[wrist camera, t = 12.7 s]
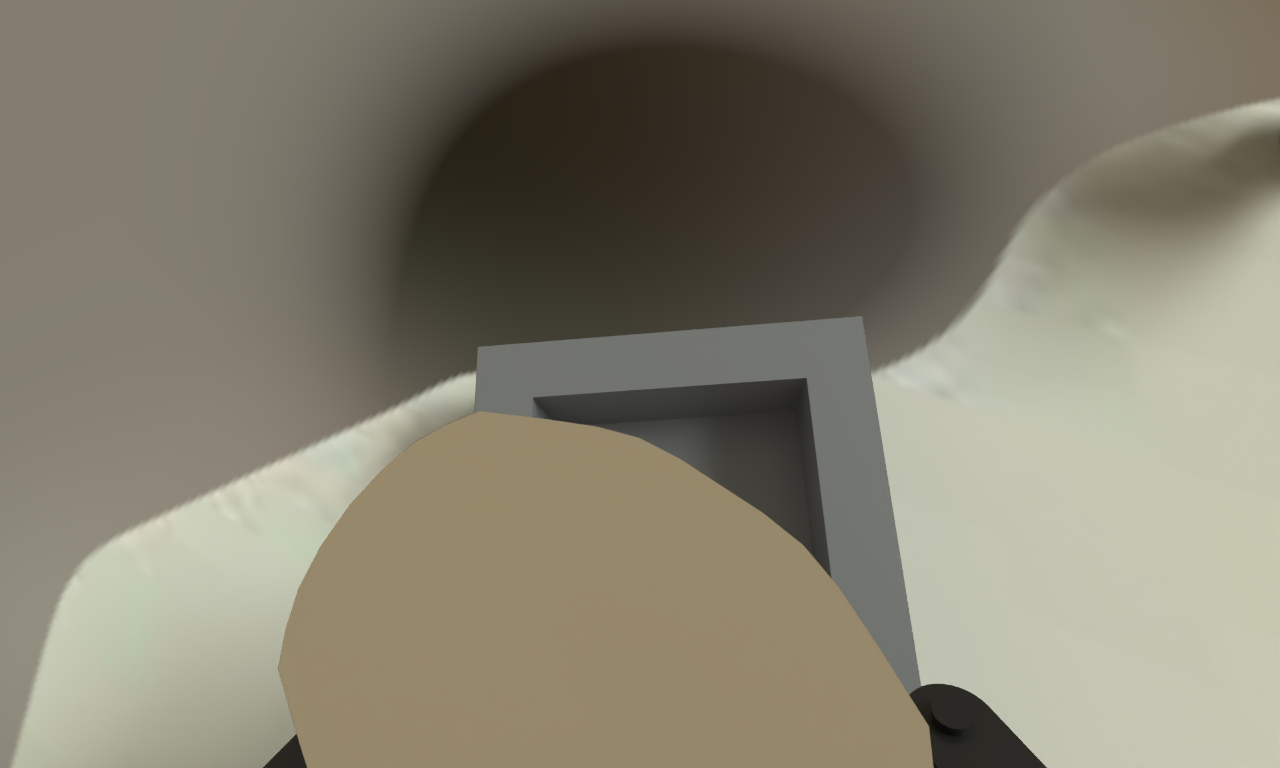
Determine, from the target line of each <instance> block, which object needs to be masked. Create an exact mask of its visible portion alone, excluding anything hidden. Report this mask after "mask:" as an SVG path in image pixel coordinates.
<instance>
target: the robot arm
mask: <svg viewBox="0 0 1280 768" xmlns="http://www.w3.org/2000/svg"><path fill="white" fill-rule="evenodd" d="M909 696H910V697H911V699H912V700H913V702H914V704H915V705H916V707H917V708H918V710H919V712H920V713H921V715H922V716H923V718H924V719H925V721H926V723H927V724H928V726H929V731H930V740H931V749H932V758H933V767H934V768H1046V766H1045V765H1044V764H1043V763H1042V762H1041V761H1040V760H1039V759H1038V758H1037V757H1036V756H1035V755H1034V754H1033V753H1032V752H1031V751H1030V750H1029V749H1028V747H1027V746H1026V745H1025V744H1024V743H1023V742H1022V741H1021V740H1020V739H1019V738H1018V737H1017V736H1016V735H1015V734H1014V733H1013V732H1012V731H1011V730H1010V728H1009V727H1008V726H1007V725H1006V724H1005V723H1004V722H1003V721H1002V720H1001V719H1000V718H999V717H998V716H997V715H996V714H995V713H994V712H993V710H992V709H991V708H990V707H989V706H988V705H987V704H986V703H984V702H983V701H982V700H981V699H980V698H978V697H977V696H975V695H974V694H972V693H970V692H968V691H966V690H964V689H961V688H959V687H955V686H952V685H946V684H929V685H925V686H921V687H919V688H917V689H915V690H914V691H913V692H911V693H910V695H909ZM263 768H307V765H306V762H305V759H304V756H303V753H302V750H301V746H300V743H299V740H298V736H297V734H296V735H295V736H294V737H293V738H292V739H291V740H290V741H289V742H288V743H287V744H286V745H285V746H284V747H283V748H282V749H281V750H280V751H279V752H278V753H277V754H276V755H275V756H274V757H273V758H272V759H271V760H270V761H269V762H268V763H267V764H266V765H265V766H264V767H263Z"/></svg>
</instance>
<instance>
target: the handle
mask: <svg viewBox="0 0 1280 768" xmlns="http://www.w3.org/2000/svg"><path fill="white" fill-rule="evenodd" d="M278 670H279V674H280V677H281V681H282V684H283V688H284V691H285V695H286V698H287V702H288V705H289V708H290V712H291V715H292V719H293V722H294V726H295V729H296V733H297V736H298V740H299V743H300V746H301V750H302V753H303V756H304V759H305V762H306V765H307V768H934V767H933V758H932V749H931V740H930V731H929V726H928V724H927V723H926V721H925V719H924V718H923V716H922V715H921V713H920V712H919V710H918V708H917V707H916V705H915V704H914V702H913V700H912V699H911V697H910V696H909V694H908V693H907V691H906V689H905V688H904V686H903V685H902V683H901V682H900V680H899V678H898V677H897V675H896V674H895V672H894V671H893V669H892V667H891V666H890V664H889V663H888V661H887V660H886V658H885V656H884V655H883V653H882V652H881V650H880V648H879V647H878V645H877V644H876V642H875V641H874V639H873V638H872V636H871V635H870V633H869V632H868V630H867V629H866V627H865V626H864V624H863V623H862V621H861V620H860V618H859V617H858V615H857V614H856V612H855V611H854V609H853V608H852V606H851V605H850V603H849V602H848V601H847V599H846V598H845V596H844V595H843V593H842V592H841V590H840V589H839V587H838V586H837V585H836V584H835V582H834V581H833V580H832V579H831V578H830V576H829V575H828V574H827V573H826V572H825V570H824V569H823V568H822V567H821V566H820V564H819V563H818V562H817V561H816V560H815V558H814V557H813V556H812V555H811V554H810V552H809V551H808V550H807V549H806V548H805V546H804V545H802V544H801V543H800V542H799V541H797V540H796V539H795V538H794V537H792V536H791V535H790V534H789V533H787V532H786V531H785V530H784V529H782V528H781V527H780V526H779V525H777V524H776V523H775V522H774V521H773V520H771V519H770V518H769V517H768V516H766V515H765V514H764V513H762V512H761V511H759V510H758V509H756V508H755V507H753V506H752V505H750V504H749V503H747V502H745V501H744V500H742V499H741V498H739V497H738V496H736V495H735V494H733V493H732V492H730V491H729V490H727V489H726V488H724V487H722V486H721V485H719V484H718V483H716V482H715V481H713V480H712V479H710V478H709V477H707V476H706V475H704V474H703V473H701V472H699V471H698V470H696V469H695V468H693V467H692V466H690V465H689V464H687V463H686V462H684V461H683V460H681V459H679V458H677V457H675V456H673V455H672V454H670V453H668V452H666V451H664V450H662V449H660V448H658V447H656V446H654V445H652V444H650V443H648V442H646V441H644V440H642V439H640V438H638V437H634V436H630V435H626V434H623V433H619V432H615V431H611V430H608V429H604V428H600V427H596V426H590V425H583V424H576V423H569V422H562V421H555V420H549V419H541V418H532V417H524V416H516V415H507V414H499V413H490V412H482V411H479V412H477V413H474V414H472V415H469V416H467V417H464V418H462V419H459V420H457V421H454V422H452V423H449V424H447V425H445V426H444V427H442V428H440V429H438V430H436V431H435V432H433V433H431V434H429V435H427V436H425V437H424V438H422V439H420V440H418V441H416V442H415V443H414V444H413V445H412V446H410V447H409V448H408V449H407V450H405V451H404V452H403V453H402V454H401V455H399V456H398V457H397V458H396V459H395V460H393V461H392V462H391V463H390V464H388V465H387V466H386V467H385V468H384V469H382V470H381V472H380V473H379V474H378V475H377V476H376V477H375V478H374V479H373V480H372V481H371V482H370V484H369V485H368V486H367V487H366V488H365V489H364V490H363V491H362V492H361V493H360V494H359V496H358V497H357V498H356V499H355V500H354V501H353V502H352V503H351V504H350V505H349V507H348V508H347V510H346V511H345V512H344V514H343V515H342V517H341V518H340V519H339V521H338V522H337V524H336V525H335V527H334V528H333V529H332V531H331V532H330V534H329V535H328V537H327V538H326V539H325V541H324V542H323V544H322V545H321V547H320V548H319V550H318V552H317V554H316V556H315V558H314V560H313V562H312V564H311V566H310V568H309V570H308V572H307V573H306V575H305V577H304V579H303V581H302V583H301V585H300V587H299V589H298V592H297V595H296V598H295V601H294V605H293V608H292V611H291V614H290V617H289V620H288V624H287V627H286V631H285V636H284V641H283V646H282V651H281V656H280V661H279V666H278Z"/></svg>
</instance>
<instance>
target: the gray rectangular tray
mask: <svg viewBox="0 0 1280 768" xmlns="http://www.w3.org/2000/svg"><path fill="white" fill-rule="evenodd" d="M479 411H482V412H490V413H499V414H507V415H516V416H524V417H532V418H541V419H549V420H555V421H562V422H569V423H576V424H583V425H590V426H596V427H600V428H604V429H608V430H611V431H615V432H619V433H623V434H626V435H630V436H634V437H638V438H640V439H642V440H644V441H646V442H648V443H650V444H652V445H654V446H656V447H658V448H660V449H662V450H664V451H666V452H668V453H670V454H672V455H673V456H675V457H677V458H679V459H681V460H683V461H684V462H686V463H687V464H689V465H690V466H692V467H693V468H695V469H696V470H698V471H699V472H701V473H703V474H704V475H706V476H707V477H709V478H710V479H712V480H713V481H715V482H716V483H718V484H719V485H721V486H722V487H724V488H726V489H727V490H729V491H730V492H732V493H733V494H735V495H736V496H738V497H739V498H741V499H742V500H744V501H745V502H747V503H749V504H750V505H752V506H753V507H755V508H756V509H758V510H759V511H761V512H762V513H764V514H765V515H766V516H768V517H769V518H770V519H771V520H773V521H774V522H775V523H776V524H777V525H779V526H780V527H781V528H782V529H784V530H785V531H786V532H787V533H789V534H790V535H791V536H792V537H794V538H795V539H796V540H797V541H799V542H800V543H801V544H802V545H804V546H805V548H806V549H807V550H808V551H809V552H810V554H811V555H812V556H813V557H814V558H815V560H816V561H817V562H818V563H819V564H820V566H821V567H822V568H823V569H824V570H825V572H826V573H827V574H828V575H829V576H830V578H831V579H832V580H833V581H834V582H835V584H836V585H837V586H838V587H839V589H840V590H841V592H842V593H843V595H844V596H845V598H846V599H847V601H848V602H849V603H850V605H851V606H852V608H853V609H854V611H855V612H856V614H857V615H858V617H859V618H860V620H861V621H862V623H863V624H864V626H865V627H866V629H867V630H868V632H869V633H870V635H871V636H872V638H873V639H874V641H875V642H876V644H877V645H878V647H879V648H880V650H881V652H882V653H883V655H884V656H885V658H886V660H887V661H888V663H889V664H890V666H891V667H892V669H893V671H894V672H895V674H896V675H897V677H898V678H899V680H900V682H901V683H902V685H903V686H904V688H905V689H906V691H907V693H908V694H909V695H910V693H911V692H913V691H914V690H915V689H917V688H919V687H921V683H920V677H919V671H918V665H917V658H916V652H915V646H914V640H913V633H912V627H911V621H910V614H909V608H908V602H907V596H906V589H905V583H904V577H903V571H902V564H901V558H900V552H899V546H898V539H897V533H896V527H895V521H894V514H893V508H892V502H891V496H890V489H889V483H888V477H887V471H886V464H885V458H884V452H883V445H882V439H881V433H880V427H879V420H878V414H877V408H876V402H875V395H874V389H873V383H872V377H871V370H870V364H869V358H868V352H867V346H866V339H865V333H864V327H863V320H862V317H861V316H860V317H848V318H835V319H823V320H811V321H799V322H798V321H797V322H785V323H774V324H773V323H772V324H761V325H747V326H735V327H722V328H710V329H697V330H685V331H672V332H660V333H648V334H635V335H622V336H610V337H598V338H585V339H574V340H573V339H572V340H560V341H548V342H535V343H522V344H510V345H497V346H485V347H478V357H477V374H476V391H475V408H474V413H477V412H479Z"/></svg>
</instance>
